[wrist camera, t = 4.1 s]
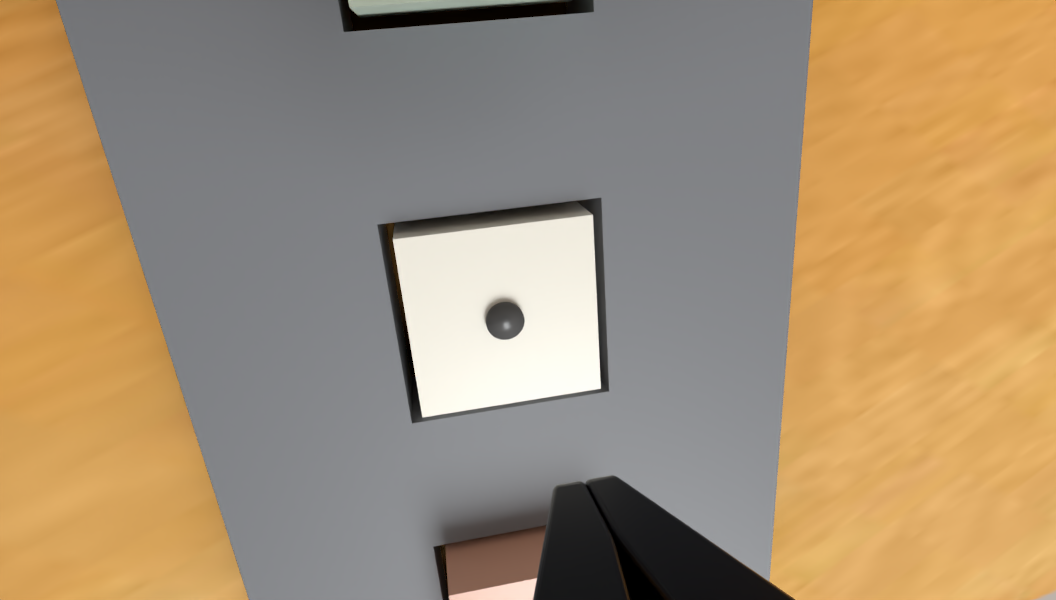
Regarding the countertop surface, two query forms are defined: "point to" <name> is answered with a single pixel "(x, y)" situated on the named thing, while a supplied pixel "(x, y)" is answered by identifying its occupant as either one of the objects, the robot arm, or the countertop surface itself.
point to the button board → (444, 190)
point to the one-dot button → (500, 305)
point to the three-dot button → (495, 566)
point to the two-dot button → (431, 6)
